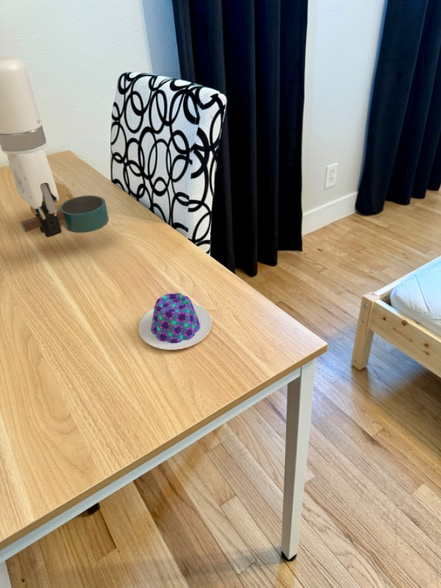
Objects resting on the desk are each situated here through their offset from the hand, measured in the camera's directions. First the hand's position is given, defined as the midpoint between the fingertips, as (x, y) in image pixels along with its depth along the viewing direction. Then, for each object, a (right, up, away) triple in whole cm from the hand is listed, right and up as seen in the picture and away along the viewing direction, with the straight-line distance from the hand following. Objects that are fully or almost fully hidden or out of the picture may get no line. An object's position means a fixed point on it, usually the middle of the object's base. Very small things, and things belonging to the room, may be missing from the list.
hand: (51, 232), depth 85 cm
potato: (-6, +5, +18) cm, 19 cm away
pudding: (+26, -18, -15) cm, 35 cm away
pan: (+3, +1, +2) cm, 4 cm away
